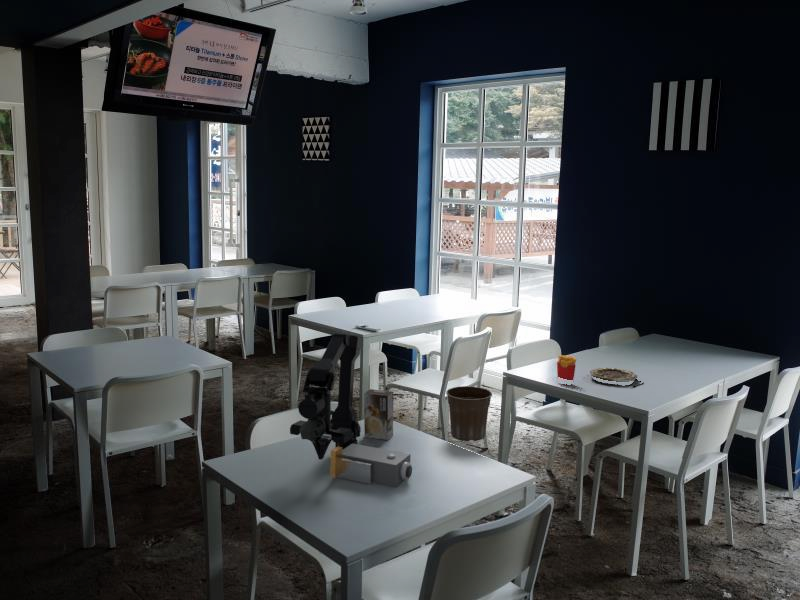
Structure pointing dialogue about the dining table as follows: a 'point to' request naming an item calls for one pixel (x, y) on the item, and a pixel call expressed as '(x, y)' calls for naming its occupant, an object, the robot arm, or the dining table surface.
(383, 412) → the coffee box
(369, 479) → the orange and silver box
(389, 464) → the camera housing
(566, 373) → the french fries
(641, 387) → the dining table surface
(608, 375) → the pie
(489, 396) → the plant pot
